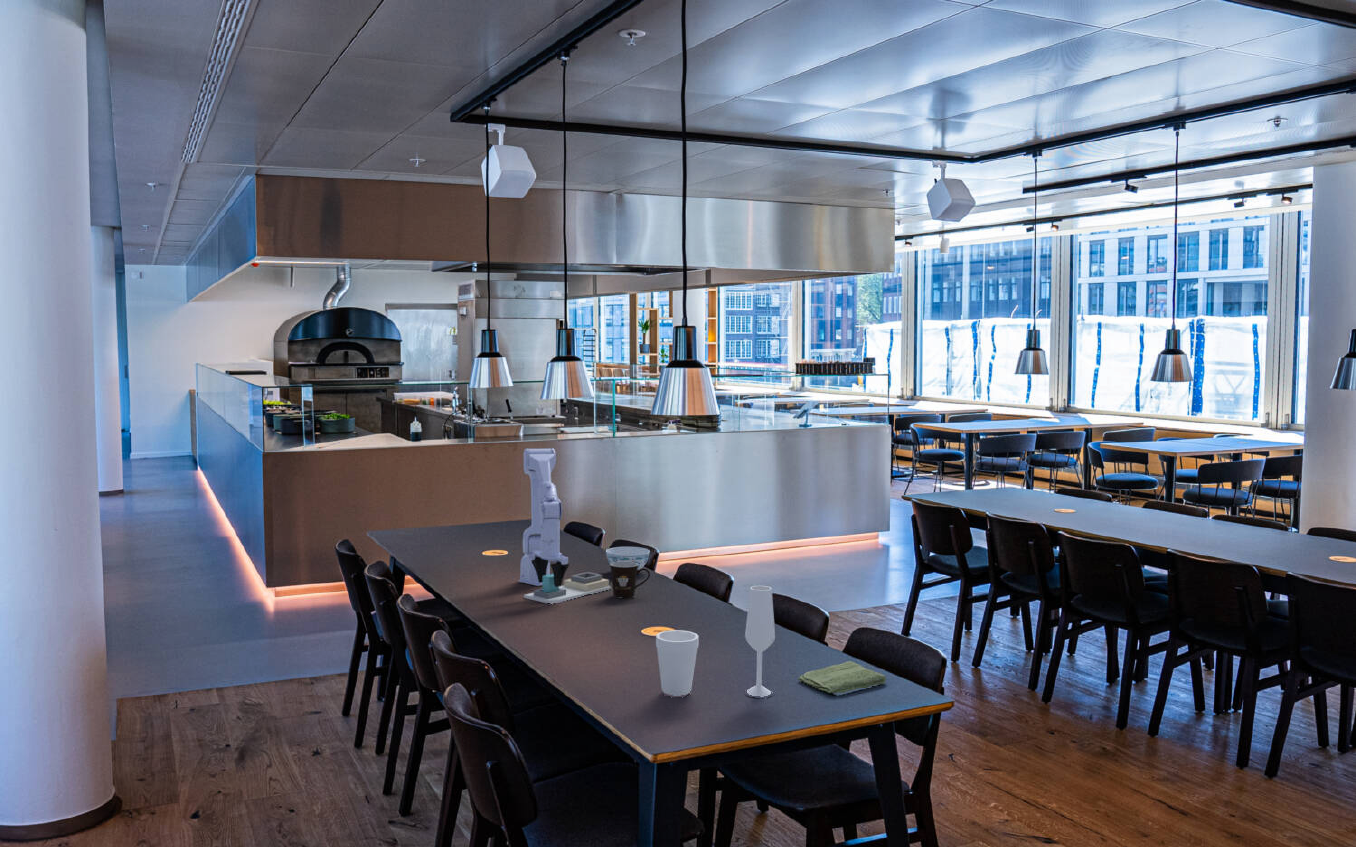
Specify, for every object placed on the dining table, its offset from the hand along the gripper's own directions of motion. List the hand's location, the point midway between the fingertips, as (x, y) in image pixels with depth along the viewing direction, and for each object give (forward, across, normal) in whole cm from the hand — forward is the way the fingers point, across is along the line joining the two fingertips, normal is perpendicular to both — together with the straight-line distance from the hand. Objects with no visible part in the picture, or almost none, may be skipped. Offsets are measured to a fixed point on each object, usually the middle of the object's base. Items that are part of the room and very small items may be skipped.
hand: (549, 584), depth 313 cm
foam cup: (+5, -86, +36) cm, 94 cm away
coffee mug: (+5, -15, -19) cm, 25 cm away
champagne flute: (+5, -100, +23) cm, 102 cm away
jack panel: (+4, 0, -8) cm, 9 cm away
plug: (+3, 0, 0) cm, 3 cm away
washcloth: (+5, -109, +3) cm, 109 cm away
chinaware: (+5, +9, -42) cm, 43 cm away
